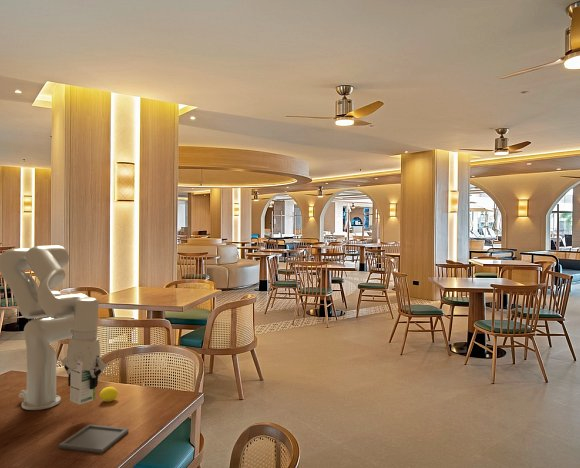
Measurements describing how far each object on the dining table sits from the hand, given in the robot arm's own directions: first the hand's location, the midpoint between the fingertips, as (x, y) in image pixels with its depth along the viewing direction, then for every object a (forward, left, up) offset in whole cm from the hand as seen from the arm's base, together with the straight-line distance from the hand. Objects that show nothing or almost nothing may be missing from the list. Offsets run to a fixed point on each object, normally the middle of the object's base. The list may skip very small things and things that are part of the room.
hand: (82, 386), depth 153 cm
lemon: (-1, +17, -12) cm, 20 cm away
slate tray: (+13, -12, -11) cm, 21 cm away
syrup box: (0, 0, -5) cm, 5 cm away
